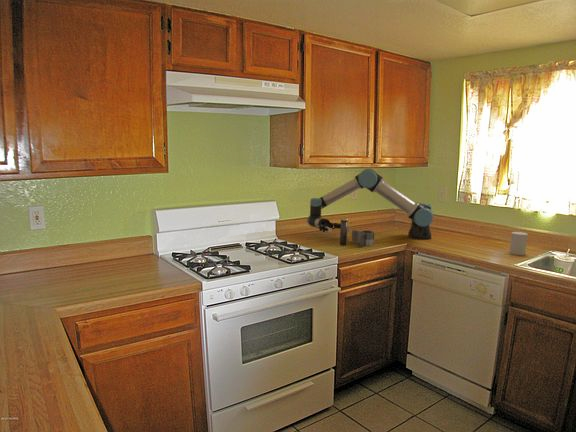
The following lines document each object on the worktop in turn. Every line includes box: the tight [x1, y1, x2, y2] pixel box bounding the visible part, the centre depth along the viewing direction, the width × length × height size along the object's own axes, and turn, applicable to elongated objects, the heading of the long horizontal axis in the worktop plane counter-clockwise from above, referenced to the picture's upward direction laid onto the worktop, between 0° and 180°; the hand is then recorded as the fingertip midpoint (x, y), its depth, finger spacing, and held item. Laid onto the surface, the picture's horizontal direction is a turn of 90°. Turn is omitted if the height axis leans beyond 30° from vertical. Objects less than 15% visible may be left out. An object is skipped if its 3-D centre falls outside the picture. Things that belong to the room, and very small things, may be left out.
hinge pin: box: [339, 217, 349, 247], centre depth 255 cm, size 5×5×16 cm
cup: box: [508, 231, 529, 256], centre depth 244 cm, size 8×8×12 cm
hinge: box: [351, 229, 375, 249], centre depth 257 cm, size 14×14×8 cm
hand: (340, 229), depth 257 cm, fingers open, 13 cm apart
